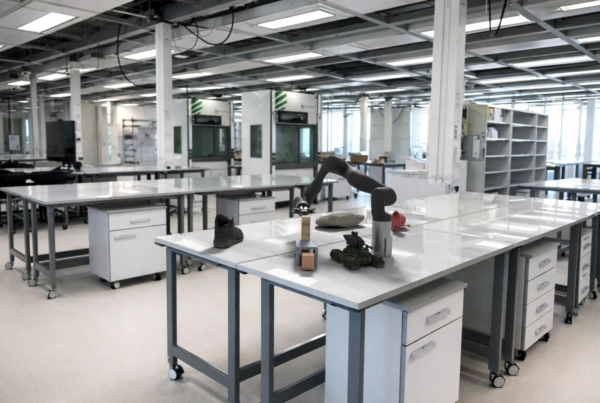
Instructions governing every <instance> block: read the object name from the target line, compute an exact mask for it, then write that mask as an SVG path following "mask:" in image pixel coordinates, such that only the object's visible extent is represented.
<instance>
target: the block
mask: <svg viewBox="0 0 600 403" xmlns="http://www.w3.org/2000/svg"><path fill="white" fill-rule="evenodd" d="M302 267H314V268H315V264H314V253H313V252H310V253H302V264H301V268H302Z"/></svg>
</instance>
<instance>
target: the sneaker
mask: <svg viewBox="0 0 600 403" xmlns="http://www.w3.org/2000/svg"><path fill="white" fill-rule="evenodd" d="M234 220H235V219H234V216H232V217H231V218H229V217H228V216H227V215H225V214H223V213H217V214H216V215H215V218H214V228H213V229H214V230H213V231H214V232H213V235H214V236H213V242H212V243H213V245H212V246H213V247H214V248H217V249H218V248H220V249H227V247H228V248H230V247H233V244H234V245H236V244H239V243H241V242H243V240H244V238H245V237H244V236H245V235H244V231H243V230H242V229H241V228H240V227H238V226H236V225H235V221H234Z"/></svg>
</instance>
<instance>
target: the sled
mask: <svg viewBox="0 0 600 403" xmlns="http://www.w3.org/2000/svg"><path fill="white" fill-rule="evenodd" d="M300 231H301V233H300V235H301V236H300V240H311V215H310V214H308V215H302V216H301V229H300ZM299 253H300V258H299V259H300V263H301V265H302V253H311V249H300V251H299ZM301 268H302V270H315V266H314V267H302V266H301Z"/></svg>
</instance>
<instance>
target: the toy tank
mask: <svg viewBox="0 0 600 403" xmlns="http://www.w3.org/2000/svg"><path fill="white" fill-rule="evenodd" d="M342 237H343V239H344V240H345V244H346V245H345V247H344V248H343V249H342V250H341V249H339V248H331V250H330V251H329V257H330V259H332V260H333V261H335V262H337V263H340V264H342V265H343V266H344V268H346V269H348V270H350V271H355V270H356V271H357V270H358V269H360V267H361V266H369V265H370V266H371V267H372V268H376V269H381V268H384V267H385V265H386V262H385V260H384V257H380V256H378V255H376V254H375V255H372V254H371V250H372V249H373V247H372V246H371V245H369V244H366V241H365V240H364V239H363V238H362V237H361V236H359V232H358V231H353V230H351V233H350V234H349V233H348V234H347V233H345V234H342Z"/></svg>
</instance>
